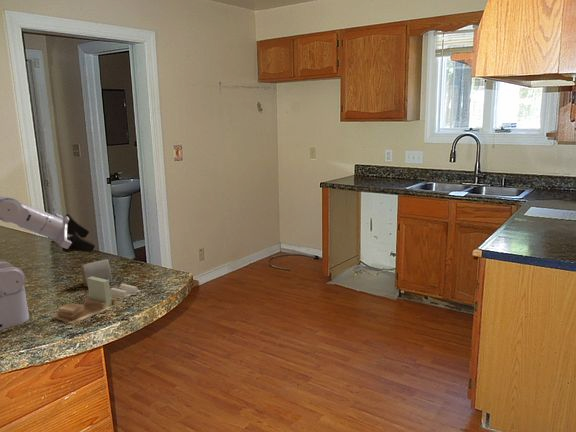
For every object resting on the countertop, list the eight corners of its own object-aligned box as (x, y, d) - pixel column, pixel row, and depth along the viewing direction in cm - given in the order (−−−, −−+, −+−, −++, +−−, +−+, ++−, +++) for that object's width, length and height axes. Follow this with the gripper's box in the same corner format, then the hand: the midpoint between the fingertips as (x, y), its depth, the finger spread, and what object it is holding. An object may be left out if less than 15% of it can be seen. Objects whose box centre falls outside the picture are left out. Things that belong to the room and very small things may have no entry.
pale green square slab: (106, 307, 124) (103, 282, 122) (90, 302, 127) (87, 278, 126) (111, 305, 125) (108, 280, 123) (95, 300, 129) (92, 276, 127)
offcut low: (72, 320, 116) (71, 316, 116) (57, 316, 119) (57, 311, 119) (86, 314, 119) (86, 310, 119) (72, 310, 122) (71, 306, 122)
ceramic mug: (82, 284, 145) (79, 260, 143) (110, 279, 149) (107, 256, 147) (85, 295, 136) (81, 270, 134) (114, 290, 139) (112, 265, 138)
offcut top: (73, 315, 116) (72, 310, 116) (58, 312, 118) (58, 308, 118) (84, 309, 119) (83, 305, 119) (70, 307, 121) (69, 302, 121)
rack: (72, 327, 114) (71, 317, 114) (51, 320, 119) (49, 310, 119) (123, 305, 127) (122, 297, 126) (101, 299, 132) (100, 291, 131)
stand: (121, 302, 129) (120, 293, 129) (107, 298, 133) (106, 290, 132) (141, 293, 135) (140, 285, 135) (127, 290, 138) (126, 282, 138)
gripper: (54, 224, 114) (104, 243, 123) (46, 197, 124) (92, 217, 134) (38, 247, 114) (88, 264, 124) (31, 218, 125) (78, 236, 134)
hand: (89, 241), depth 129 cm, fingers open, 7 cm apart
